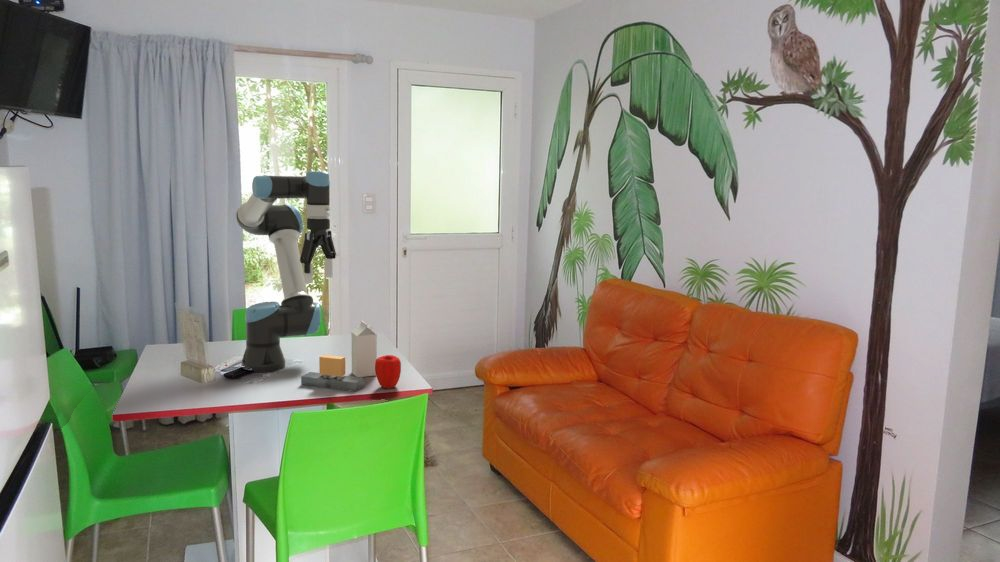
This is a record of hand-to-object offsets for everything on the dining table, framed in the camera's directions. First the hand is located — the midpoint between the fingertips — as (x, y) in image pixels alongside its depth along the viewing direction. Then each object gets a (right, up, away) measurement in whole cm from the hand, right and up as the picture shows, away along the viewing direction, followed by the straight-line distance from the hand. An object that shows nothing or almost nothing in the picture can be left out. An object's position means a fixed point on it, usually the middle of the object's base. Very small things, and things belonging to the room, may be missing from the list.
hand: (318, 280), depth 242 cm
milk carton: (+13, -34, +12) cm, 38 cm away
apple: (+24, -36, -2) cm, 44 cm away
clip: (+5, -36, -2) cm, 36 cm away
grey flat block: (+5, -36, -2) cm, 36 cm away
